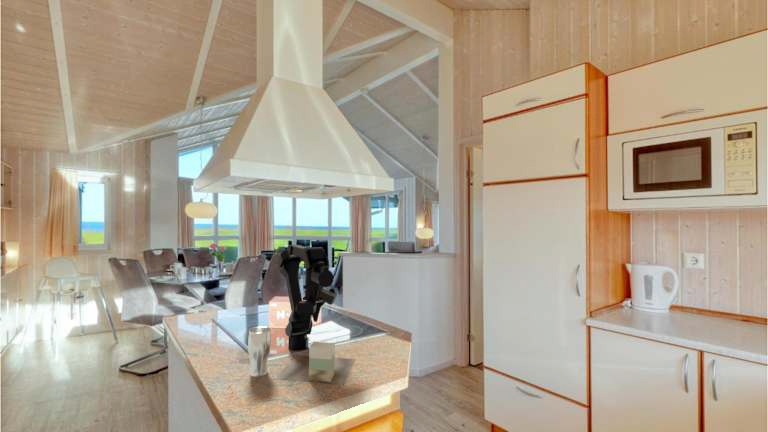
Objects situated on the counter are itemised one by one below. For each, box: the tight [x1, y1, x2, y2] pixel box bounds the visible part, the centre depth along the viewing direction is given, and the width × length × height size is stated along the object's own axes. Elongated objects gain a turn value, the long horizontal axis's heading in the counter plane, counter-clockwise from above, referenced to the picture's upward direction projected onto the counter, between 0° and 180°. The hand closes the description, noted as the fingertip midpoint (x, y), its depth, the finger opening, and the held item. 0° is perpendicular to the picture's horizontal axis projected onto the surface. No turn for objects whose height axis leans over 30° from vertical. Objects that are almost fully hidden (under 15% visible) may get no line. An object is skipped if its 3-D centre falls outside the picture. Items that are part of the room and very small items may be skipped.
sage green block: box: [309, 353, 336, 371], centre depth 113 cm, size 7×4×4 cm, turn 84°
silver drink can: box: [247, 326, 272, 378], centre depth 116 cm, size 7×7×15 cm
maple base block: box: [309, 366, 334, 382], centre depth 113 cm, size 7×4×4 cm, turn 84°
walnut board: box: [274, 354, 356, 386], centre depth 120 cm, size 22×20×1 cm
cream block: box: [308, 341, 336, 360], centre depth 113 cm, size 7×4×4 cm, turn 84°
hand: (311, 325), depth 128 cm, fingers open, 9 cm apart
